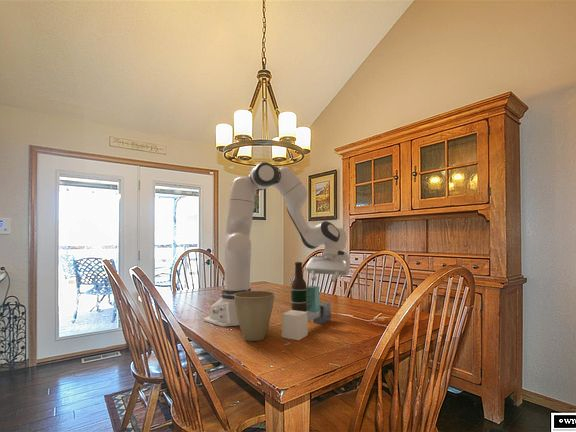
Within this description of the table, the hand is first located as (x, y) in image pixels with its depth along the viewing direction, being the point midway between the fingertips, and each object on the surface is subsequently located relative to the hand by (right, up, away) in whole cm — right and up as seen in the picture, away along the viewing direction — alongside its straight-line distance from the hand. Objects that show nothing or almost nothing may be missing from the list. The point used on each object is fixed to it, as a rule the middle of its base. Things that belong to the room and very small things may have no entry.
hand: (322, 280), depth 140 cm
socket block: (-13, -16, -22) cm, 30 cm away
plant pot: (-28, -16, -24) cm, 40 cm away
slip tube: (-4, -13, -8) cm, 17 cm away
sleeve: (-1, -17, -2) cm, 17 cm away
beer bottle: (-10, -19, +17) cm, 27 cm away
